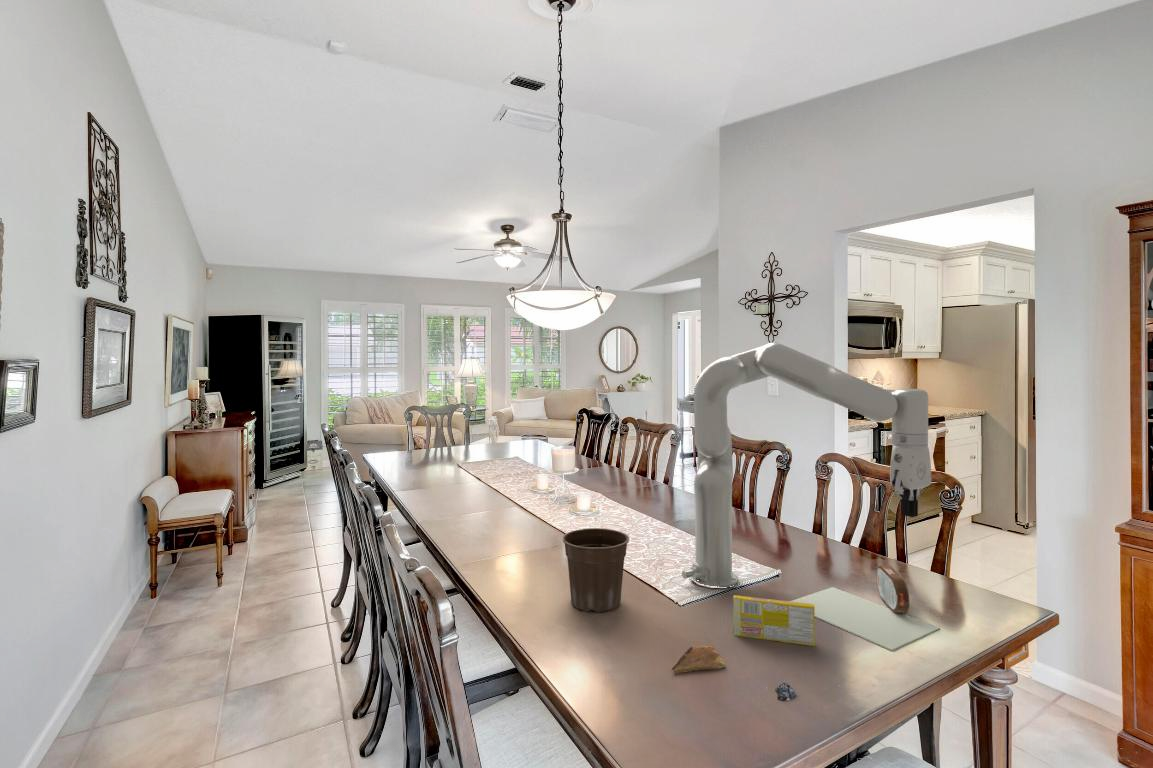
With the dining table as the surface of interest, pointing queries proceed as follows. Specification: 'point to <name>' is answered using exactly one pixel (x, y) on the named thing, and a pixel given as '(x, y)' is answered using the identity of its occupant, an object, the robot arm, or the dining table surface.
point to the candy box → (774, 620)
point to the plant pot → (595, 567)
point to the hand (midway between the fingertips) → (909, 515)
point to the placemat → (867, 618)
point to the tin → (892, 589)
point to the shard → (699, 659)
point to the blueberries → (785, 692)
